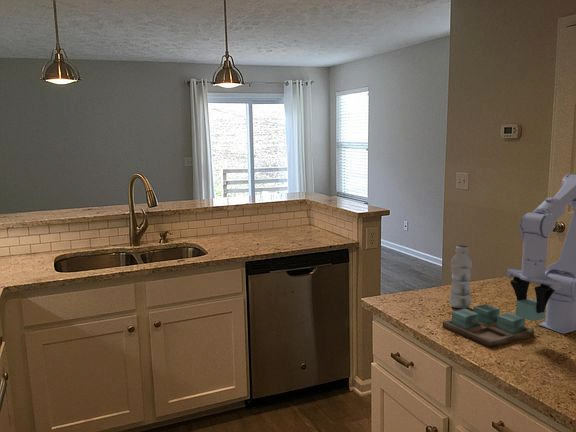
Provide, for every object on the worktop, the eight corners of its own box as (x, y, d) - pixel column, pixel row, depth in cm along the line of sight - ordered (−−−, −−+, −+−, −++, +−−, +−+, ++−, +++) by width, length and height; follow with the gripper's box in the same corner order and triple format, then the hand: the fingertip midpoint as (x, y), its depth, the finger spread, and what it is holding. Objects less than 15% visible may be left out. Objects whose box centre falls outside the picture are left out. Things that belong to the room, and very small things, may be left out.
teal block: (528, 312, 140) (529, 298, 139) (544, 318, 135) (546, 303, 135) (515, 315, 137) (516, 301, 137) (532, 321, 133) (533, 306, 132)
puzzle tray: (484, 316, 156) (485, 301, 155) (533, 335, 141) (535, 318, 140) (442, 326, 148) (443, 310, 148) (489, 348, 133) (490, 330, 133)
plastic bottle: (472, 311, 160) (475, 249, 157) (449, 310, 162) (452, 248, 158) (469, 304, 167) (472, 244, 163) (447, 303, 168) (450, 243, 165)
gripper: (500, 255, 138) (497, 303, 140) (549, 267, 126) (545, 320, 128) (518, 252, 142) (515, 299, 144) (567, 263, 129) (563, 315, 131)
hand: (530, 309), depth 136 cm, fingers closed on teal block, 5 cm apart
